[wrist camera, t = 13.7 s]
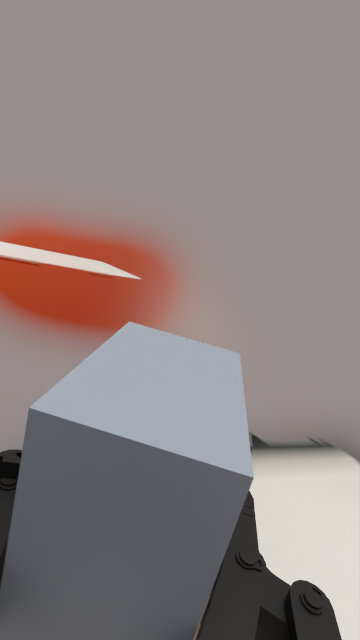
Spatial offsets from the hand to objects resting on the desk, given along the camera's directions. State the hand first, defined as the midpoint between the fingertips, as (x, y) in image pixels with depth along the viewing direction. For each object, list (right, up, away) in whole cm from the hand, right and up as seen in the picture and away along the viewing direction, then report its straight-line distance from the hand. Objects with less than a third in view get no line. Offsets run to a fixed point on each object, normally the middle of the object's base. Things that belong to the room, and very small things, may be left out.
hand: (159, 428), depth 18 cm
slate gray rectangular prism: (-2, -7, -3) cm, 8 cm away
